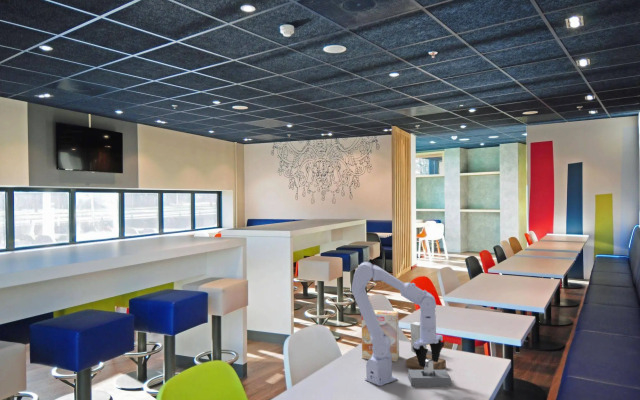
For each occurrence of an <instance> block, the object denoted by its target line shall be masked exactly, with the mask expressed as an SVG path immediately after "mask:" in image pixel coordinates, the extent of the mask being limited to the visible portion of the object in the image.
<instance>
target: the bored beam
mask: <svg viewBox="0 0 640 400" xmlns="http://www.w3.org/2000/svg"><path fill="white" fill-rule="evenodd" d="M407 371H408V375H407V376H408V380H409V383H410V386H411V387H451V386H452V383H451V382H452V378H451V376H450V374H449V373H448V371H447V369H441V370H433V376H425V375H424V370H414V369H407Z"/></svg>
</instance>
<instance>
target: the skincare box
mask: <svg viewBox="0 0 640 400" xmlns="http://www.w3.org/2000/svg"><path fill="white" fill-rule="evenodd" d="M418 339H420V320H419V321H415V322H411V323H410V350H411V351H412V352H414V350H413V346H414V344H413V343H414V342H416V341H417V340H418ZM423 347H424V348H425V349H427V345H425V346H423Z"/></svg>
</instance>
